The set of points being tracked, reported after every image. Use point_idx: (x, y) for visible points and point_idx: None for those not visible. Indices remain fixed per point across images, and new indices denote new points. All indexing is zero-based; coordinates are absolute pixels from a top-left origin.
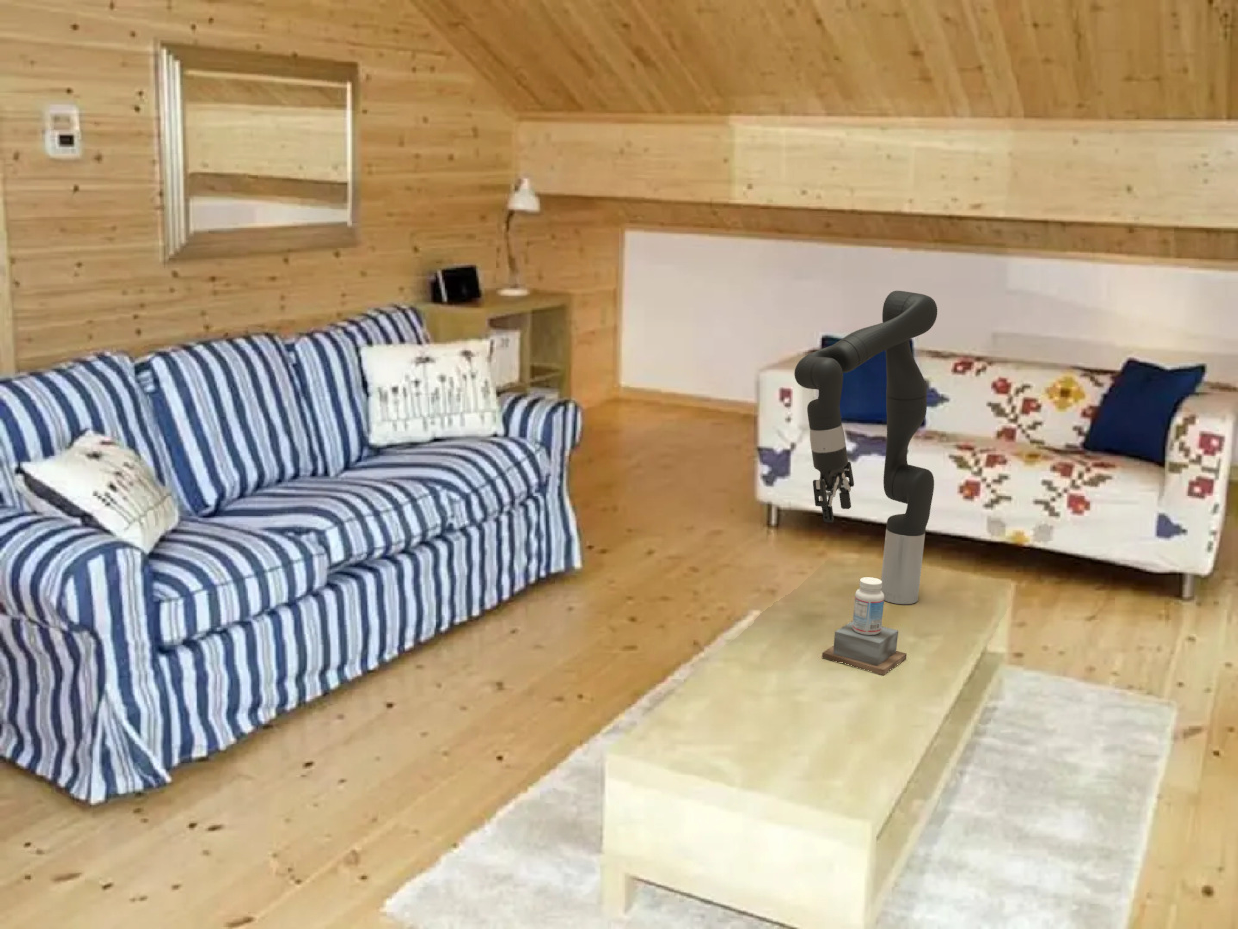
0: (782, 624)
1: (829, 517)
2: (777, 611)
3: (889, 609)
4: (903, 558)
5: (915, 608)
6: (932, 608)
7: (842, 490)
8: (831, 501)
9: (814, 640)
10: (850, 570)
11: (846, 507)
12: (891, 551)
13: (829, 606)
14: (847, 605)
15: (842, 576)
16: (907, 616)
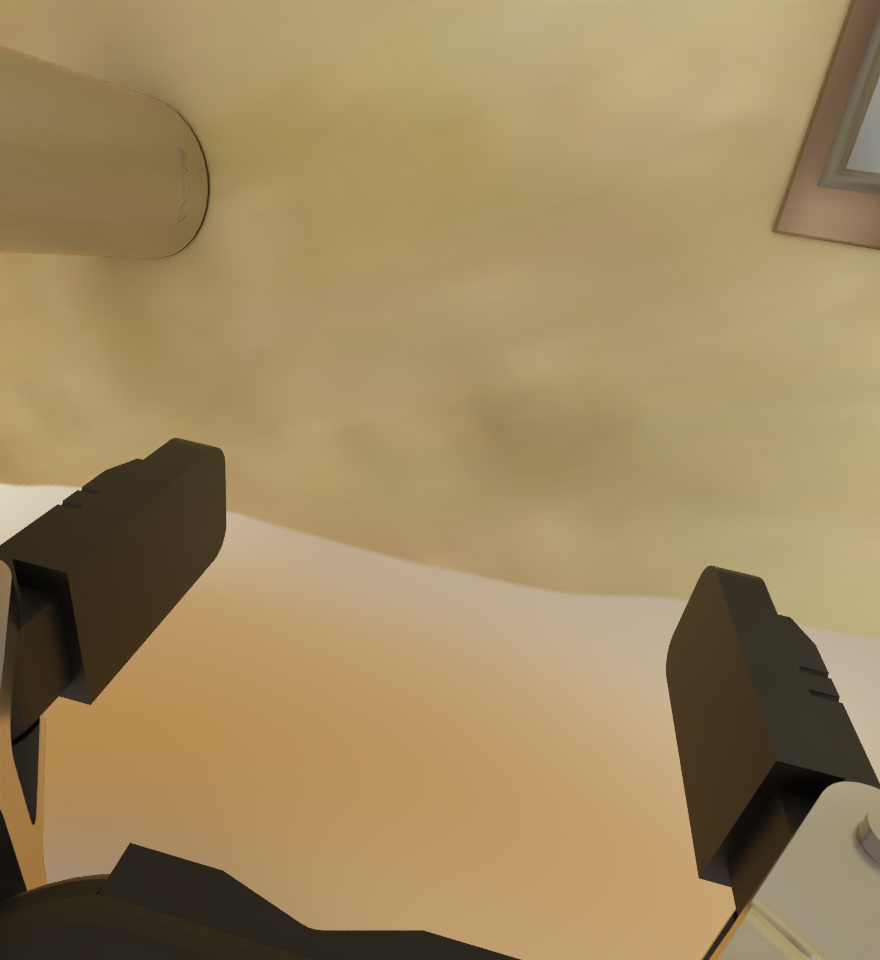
0: (662, 529)
1: (799, 652)
2: (525, 568)
3: (272, 177)
4: (31, 114)
5: (203, 79)
6: (163, 11)
7: (30, 694)
8: (828, 861)
9: (807, 371)
10: (16, 413)
11: (215, 491)
12: (15, 188)
13: (370, 403)
14: (323, 343)
15: (78, 425)
16: (305, 78)
